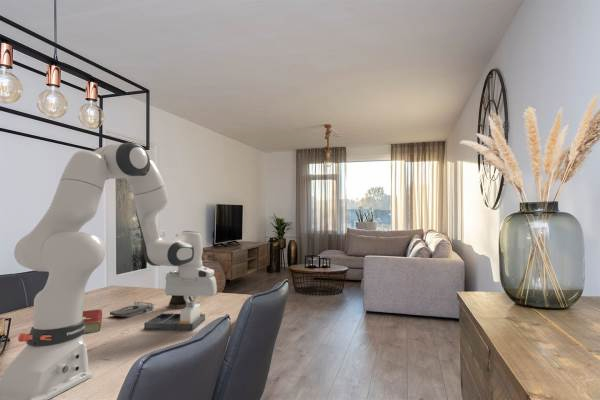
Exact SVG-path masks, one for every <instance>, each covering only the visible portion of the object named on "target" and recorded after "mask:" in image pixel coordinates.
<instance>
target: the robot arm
mask: <svg viewBox="0 0 600 400" xmlns="http://www.w3.org/2000/svg"><path fill="white" fill-rule="evenodd" d="M62 172H63V173H62V174H61V177H60V179H59V182H58V185H57V187H56V189H55V193H54V196H53V198H52V201H51V203H50V206H49V207H48V209H47V211H46V212H45V214H44V215H43V216H42V217H41V219H40V221H39V222H38V223H37V225H36V226H35V227H34V228H33V229H32V230H31V231H30V232H28V233H27V234H26V235H25V236H23V237H21V239H20V240H18V242H17V243H16V245H15V247H14V253H13V254H14V255H13V256H14V259H15V261H16V262H17V263H18V265H20V266H21V267H23V268H27V269H29V270H32V271H35V272H46V273H48V278H47V280H46V283H45V285H44V287H43V289H42V290H40V291H39V292H37V293H36V295H35V297H34V299H33V317H32V318H33V322H32V327H31V328H30V331H29V332H28V333H23V332H21V333H19V335H18V336H17V341H18V342H19V343H22V342H24V343H26V345H25V346H24V347H23V349H22V350H21V351H20V352H19V353H18V354H17V356H16V357H15V358H14V359H13V360H12V361H11V363H10V364H8V366H7V367H6V368H5V369H4V370H3V372H2V374H1V376H0V400H51V399H52V398H54V397H55V396H58V395H59V394H61V393H63V392H65V391H67V390H69V389H71V388H74V387H75V386H77V385H79V384H81V383H83V382H84V381H86V380H88V379H90V378H92V377H93V376H92V375H93V374H92V371H91V370H90V369H89V360H88V350H87V345H86V342H85V339H84V334H85V333H84V328H85V325H84V319H83V311H84V297H85V296H84V295H85V291H86V290H85V289H86V287H87V284H88V281H89V279H90V276H91V275H92V274H93V272H94V271H95V270H96V269H97V268H99V267H100V266H101V264H102V263H103V262H104V259H105V257H106V244H105V243H104V241H103V239H102V238H100V237H99V236H97V235H95V234H91V233H87V232H82V231H80V230H81V228H83V226H85V225H86V224H87V223H88V222H90V221H91V220H93V218H95V216H96V214H97V211H98V208H99V204H100V201H101V199H102V198H101V197H102V194H103V192H104V187H105V184H106V181H107V180H111V179H113V180H114V179H116V180H117V179H118V180H119V179H125V180H126V181H127V182H128V183H129V188H130V190H131V192H132V195H133V198H134V201H135V205H136V206H135V214H136V215H135V216H136V219H137V224H138V228H139V231H140V234H141V238H142V242H143V243H142V245H143V257H144V260H145V261H146V263H147V264H149V265H150V266H153V267H154V266H155V267H157V266H159V267H160V266H164V267H178V266H179V267H178V271H179V272H178V271H169V272H168V273H166V275H165V281H166V282H165V287H164V294H165V296H172V295H174V296H184V300H185V301H186V303H187V307H195V304H196V302H197V300H198V299H199V297H212V296H215V294H216V293H217V291H218V287H217V286H218V285H217V279H216V277H215V276H214V275H215V270H214V269H212V268H209V267H206V266H204V265H203V259H202V256H203V251H204V250H203V246H204V245H203V237H202V235H201V233H199V232H197V231H190V230H182V231H181V233H180V234H178V235H179V236H178V237H177V236H176V237H175V238H174V239H172V240H164V239H163V238H162V237H161V236H160V233H159V228H158V225H157V220H156V217H157V215H158V214H159V213H160V212H161V211H162V210H164V209H165V207H167V205H168V203H169V193H168V189H167V186H166V183H165V181H164V178H163V177H162V175H161V173H160V170H159V169H158V167H157V165H156V163H155V161H153V160H152V159H150V155H149V153H148V152H147V150H146V149H145V148H144V147H143V146H142V144H138V143H136V142H124V143H116V144H113V143H111V144H107V145H105V146H102V147H96V148H94V149H92V150H80V151H77V152H74V154H73V155H72V156H71V158H70V159H69V161H68V163H67V164H66V166H65V168H64V170H63V171H62ZM189 296H191V297H192V300H193V302H190V301H189V299H188V297H189Z"/></svg>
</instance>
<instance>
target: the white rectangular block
mask: <svg viewBox="0 0 600 400" xmlns="http://www.w3.org/2000/svg"><path fill="white" fill-rule="evenodd" d="M200 312H201V304H200V303H195V307H185V308H181V310H180V311H179V314H180V321H184V322H190V323H193V322H194V321H195V320H197V319H198V318H199V317H200Z"/></svg>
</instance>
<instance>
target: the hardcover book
mask: <svg viewBox="0 0 600 400" xmlns="http://www.w3.org/2000/svg"><path fill="white" fill-rule="evenodd" d="M102 317H103V310H102V308H98V309H97V308H96V309H91V310H83V319H84V325H85V328H84V333H83V334H87V333H92V332H93V333H94V332H100V331H101V328H102V327H101V325H102Z"/></svg>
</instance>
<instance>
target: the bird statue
mask: <svg viewBox="0 0 600 400" xmlns="http://www.w3.org/2000/svg"><path fill="white" fill-rule="evenodd" d="M179 235H180V234H177V233H176V234H175V237H176V238H177V237H178V236H179ZM177 268H179V266H177ZM177 272H179V270H178V271H177ZM188 299H189V301H190V302H193V300H194V299H193V297H192V296H189V297H188ZM185 307H187V303H186V301H185V300H184V296H174V295H171V298H170V301H169V302H168V309H173V308H174V310H177V309H179V310H180V309H184V308H185Z"/></svg>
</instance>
